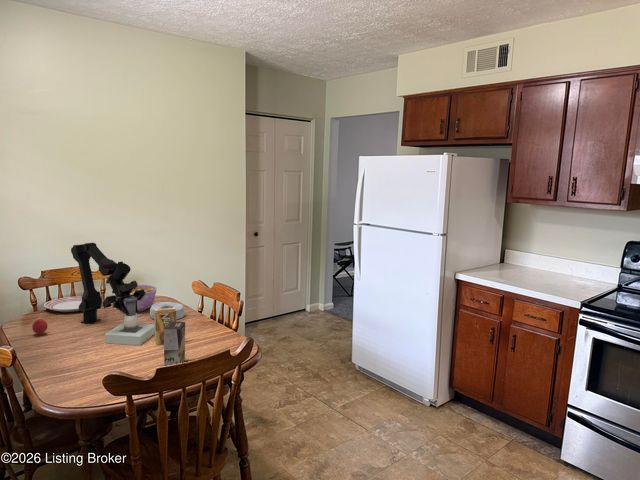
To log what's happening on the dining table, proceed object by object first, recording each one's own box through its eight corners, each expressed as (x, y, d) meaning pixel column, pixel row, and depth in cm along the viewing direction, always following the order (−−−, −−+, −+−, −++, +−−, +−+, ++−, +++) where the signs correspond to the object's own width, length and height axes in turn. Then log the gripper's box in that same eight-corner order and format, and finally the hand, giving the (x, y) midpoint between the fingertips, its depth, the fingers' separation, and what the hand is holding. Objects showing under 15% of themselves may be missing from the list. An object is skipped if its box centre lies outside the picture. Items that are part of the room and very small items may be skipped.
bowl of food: (123, 304, 251) (122, 284, 249) (159, 304, 254) (159, 284, 253) (113, 315, 231) (112, 294, 230) (153, 315, 235) (153, 294, 233)
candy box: (175, 339, 203) (174, 307, 201) (176, 342, 199) (176, 309, 197) (154, 341, 199) (154, 308, 197) (155, 344, 195) (155, 311, 193)
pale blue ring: (151, 312, 241) (151, 301, 240) (184, 310, 245) (184, 300, 245) (148, 322, 224) (148, 311, 223) (184, 321, 229) (184, 309, 228)
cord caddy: (123, 330, 211) (123, 322, 210) (155, 332, 210) (155, 324, 209) (104, 342, 195) (104, 334, 194) (139, 345, 194) (139, 336, 193)
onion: (40, 337, 198) (39, 320, 197) (29, 336, 199) (28, 319, 198) (50, 333, 203) (49, 316, 202) (40, 331, 204) (39, 315, 203)
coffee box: (180, 368, 173) (180, 329, 171) (163, 368, 173) (163, 328, 170) (185, 358, 182) (185, 321, 180) (169, 358, 182) (169, 321, 179)
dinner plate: (50, 302, 250) (50, 296, 250) (103, 299, 260) (103, 293, 259) (38, 317, 225) (38, 310, 224) (98, 313, 235) (98, 307, 234)
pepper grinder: (123, 326, 203) (122, 297, 201) (137, 324, 206) (136, 295, 204) (124, 330, 198) (124, 300, 195) (139, 328, 201) (138, 299, 199)
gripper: (105, 279, 193) (120, 308, 188) (143, 272, 208) (158, 299, 204) (96, 293, 198) (110, 322, 194) (133, 285, 213) (147, 312, 209)
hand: (132, 313), depth 200 cm, fingers closed on pepper grinder, 4 cm apart
